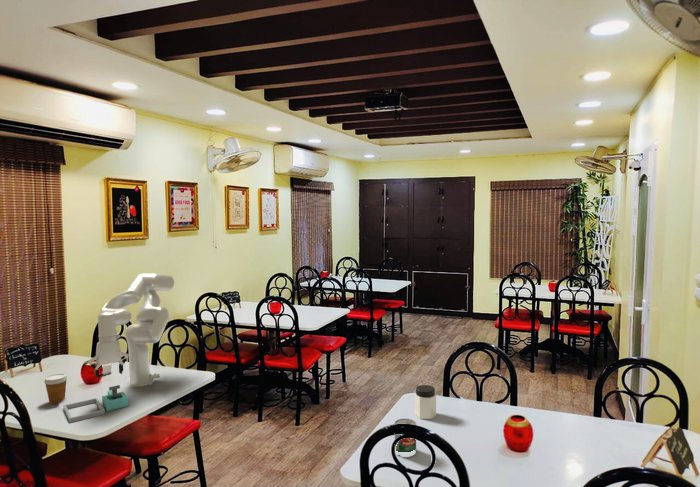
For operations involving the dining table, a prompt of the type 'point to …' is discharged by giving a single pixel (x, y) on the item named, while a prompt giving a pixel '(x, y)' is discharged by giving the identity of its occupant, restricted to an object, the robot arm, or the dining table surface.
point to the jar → (425, 402)
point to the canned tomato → (406, 443)
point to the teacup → (106, 368)
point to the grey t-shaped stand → (114, 392)
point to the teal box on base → (114, 401)
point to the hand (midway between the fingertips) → (109, 375)
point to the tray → (84, 416)
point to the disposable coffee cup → (56, 387)
